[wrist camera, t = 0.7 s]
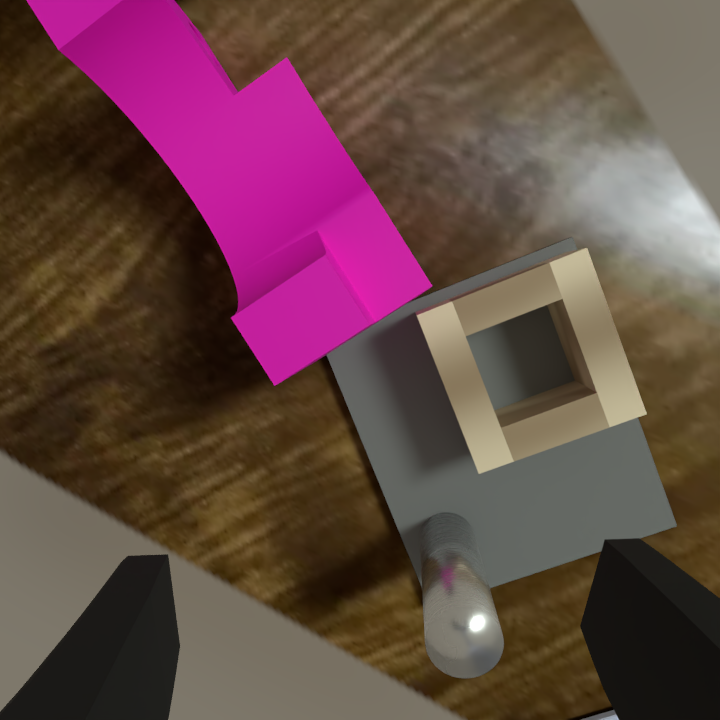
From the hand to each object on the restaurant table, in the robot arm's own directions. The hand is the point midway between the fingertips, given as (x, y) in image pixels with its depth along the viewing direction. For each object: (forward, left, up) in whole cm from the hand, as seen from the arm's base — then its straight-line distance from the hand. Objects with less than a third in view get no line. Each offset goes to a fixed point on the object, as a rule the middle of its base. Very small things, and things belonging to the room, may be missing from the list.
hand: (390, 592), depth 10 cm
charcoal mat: (-3, -4, -18) cm, 18 cm away
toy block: (+11, +1, -17) cm, 21 cm away
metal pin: (-7, 0, -17) cm, 19 cm away
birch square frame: (0, -6, -17) cm, 18 cm away
